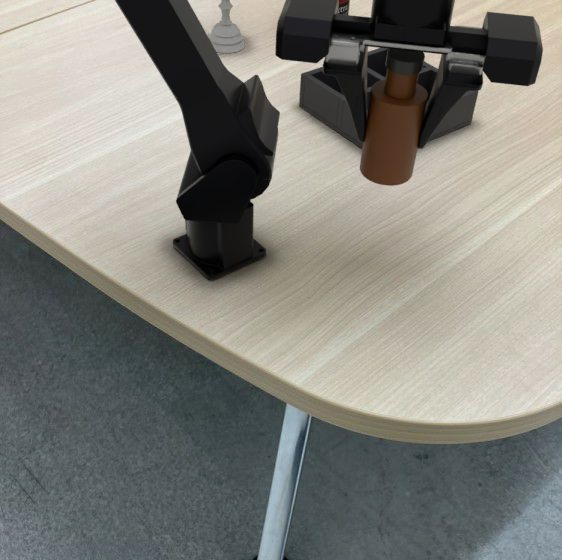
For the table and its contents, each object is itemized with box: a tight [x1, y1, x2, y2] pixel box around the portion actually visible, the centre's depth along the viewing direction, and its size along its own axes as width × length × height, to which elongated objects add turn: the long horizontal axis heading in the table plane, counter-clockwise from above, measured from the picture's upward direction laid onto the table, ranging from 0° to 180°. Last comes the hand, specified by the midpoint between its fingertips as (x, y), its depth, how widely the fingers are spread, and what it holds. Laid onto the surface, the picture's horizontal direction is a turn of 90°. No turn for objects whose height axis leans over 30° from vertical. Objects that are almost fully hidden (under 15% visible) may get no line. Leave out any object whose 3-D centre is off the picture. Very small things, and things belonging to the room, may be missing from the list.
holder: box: [298, 47, 480, 149], centre depth 90 cm, size 14×14×4 cm
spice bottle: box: [359, 49, 428, 187], centre depth 62 cm, size 4×4×10 cm
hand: (391, 142), depth 64 cm, fingers closed on spice bottle, 4 cm apart
